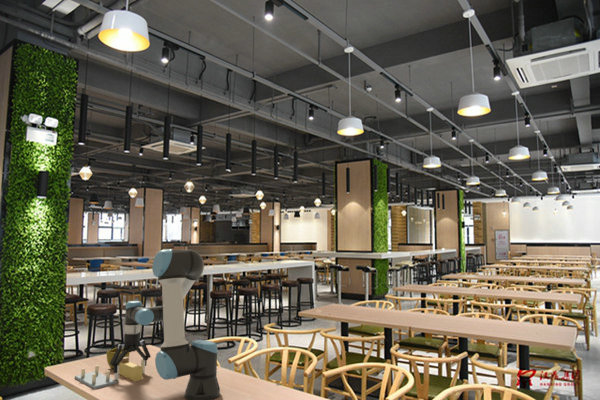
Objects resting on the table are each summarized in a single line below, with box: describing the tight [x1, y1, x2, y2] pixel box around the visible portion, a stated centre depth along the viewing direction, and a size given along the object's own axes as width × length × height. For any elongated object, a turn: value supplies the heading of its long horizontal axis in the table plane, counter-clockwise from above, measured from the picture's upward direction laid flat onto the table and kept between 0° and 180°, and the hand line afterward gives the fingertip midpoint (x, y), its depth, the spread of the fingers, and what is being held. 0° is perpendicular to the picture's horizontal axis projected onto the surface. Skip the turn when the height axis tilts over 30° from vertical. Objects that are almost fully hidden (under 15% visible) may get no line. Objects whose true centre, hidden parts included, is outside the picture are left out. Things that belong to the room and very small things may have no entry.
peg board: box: [74, 365, 117, 390], centre depth 199 cm, size 22×10×5 cm, turn 50°
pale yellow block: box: [119, 357, 143, 382], centre depth 206 cm, size 16×4×8 cm, turn 50°
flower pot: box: [106, 347, 131, 369], centre depth 221 cm, size 9×9×9 cm
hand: (129, 376), depth 206 cm, fingers open, 13 cm apart
